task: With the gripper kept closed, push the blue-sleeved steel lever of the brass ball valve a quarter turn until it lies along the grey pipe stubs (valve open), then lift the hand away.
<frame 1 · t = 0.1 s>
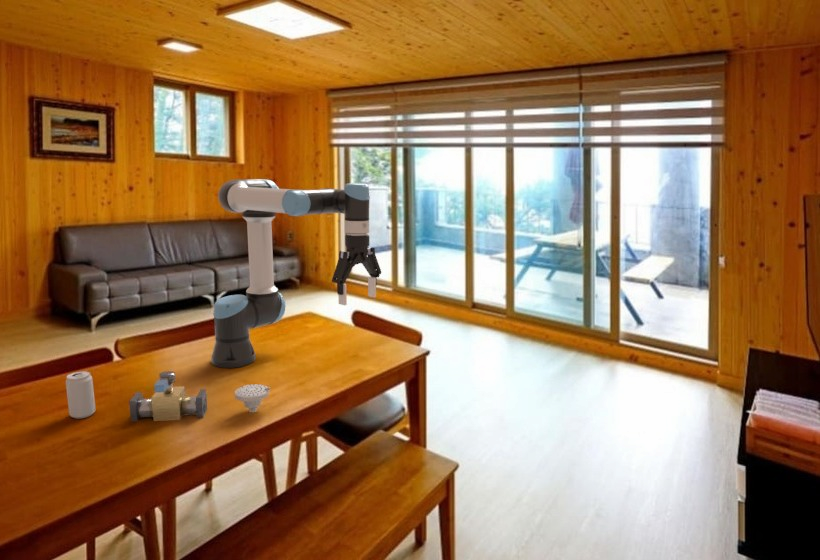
hand: (357, 300, 175), 28 cm above the table, fingers open, 13 cm apart
beverage can: (83, 415, 156), on the table
showerhead: (253, 411, 159), on the table
pipe in: (194, 413, 157), on the table
lever: (164, 381, 151), point 11 cm above the table, hinge at 90.0°
pipe out: (145, 416, 155), on the table
valve: (170, 414, 156), on the table
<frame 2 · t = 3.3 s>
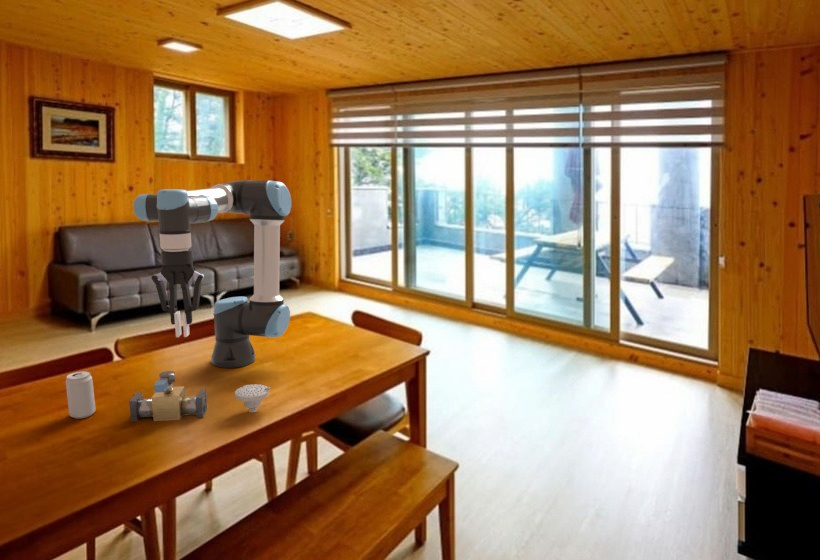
hand: (182, 335, 149), 24 cm above the table, fingers closed
nothing on the table moved.
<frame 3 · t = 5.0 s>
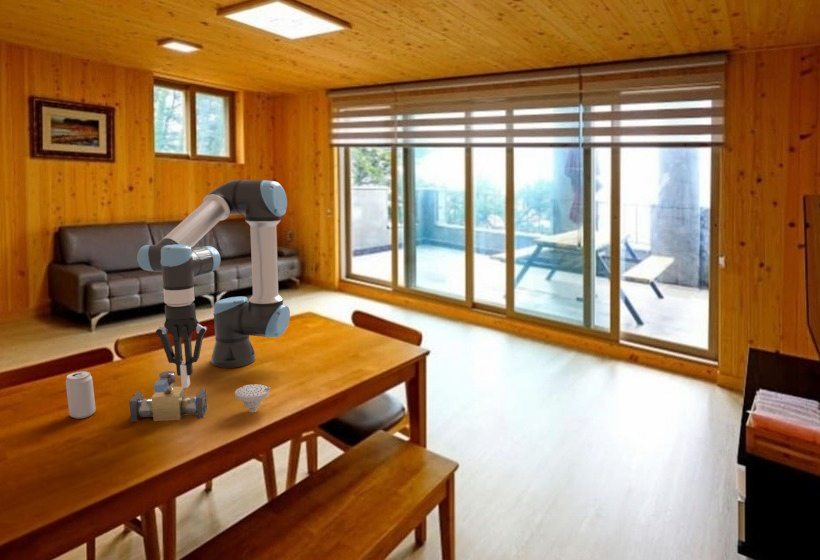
hand: (185, 386, 151), 10 cm above the table, fingers closed
nothing on the table moved.
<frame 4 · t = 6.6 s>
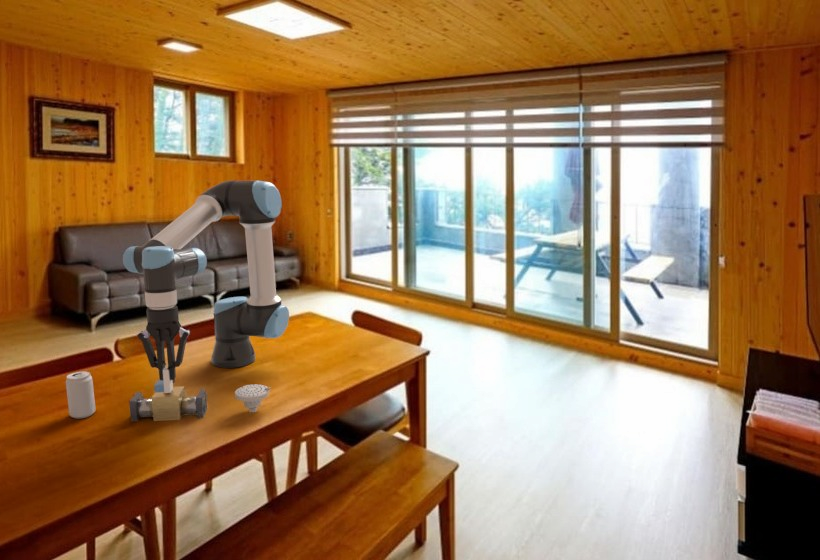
hand: (168, 390, 148), 10 cm above the table, fingers closed
lever: (164, 381, 151), point 11 cm above the table, hinge at 90.0°, touching gripper
everything else where it was.
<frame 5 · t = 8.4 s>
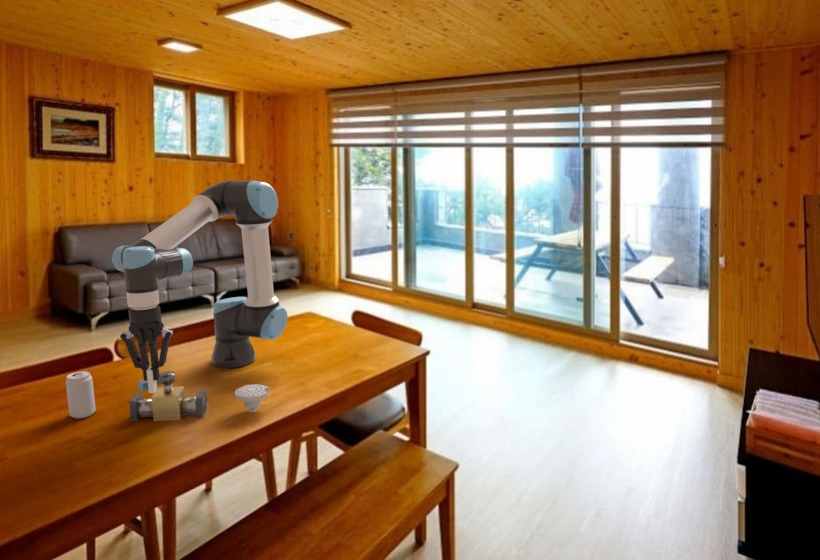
hand: (153, 391, 148), 10 cm above the table, fingers closed
lever: (157, 380, 152), point 11 cm above the table, hinge at 46.3°, touching gripper
everything else where it was.
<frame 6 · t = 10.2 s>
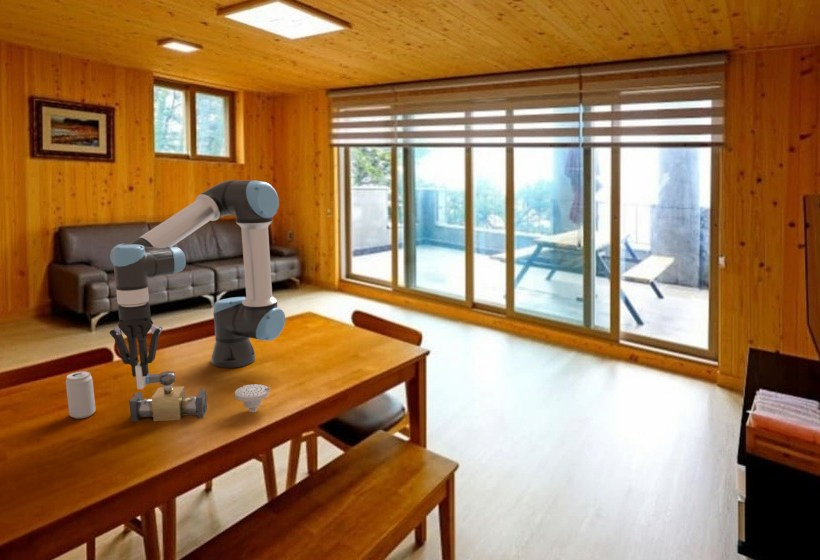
hand: (141, 387, 150), 10 cm above the table, fingers closed
lever: (156, 378, 153), point 11 cm above the table, hinge at 2.7°, touching gripper
everything else where it was.
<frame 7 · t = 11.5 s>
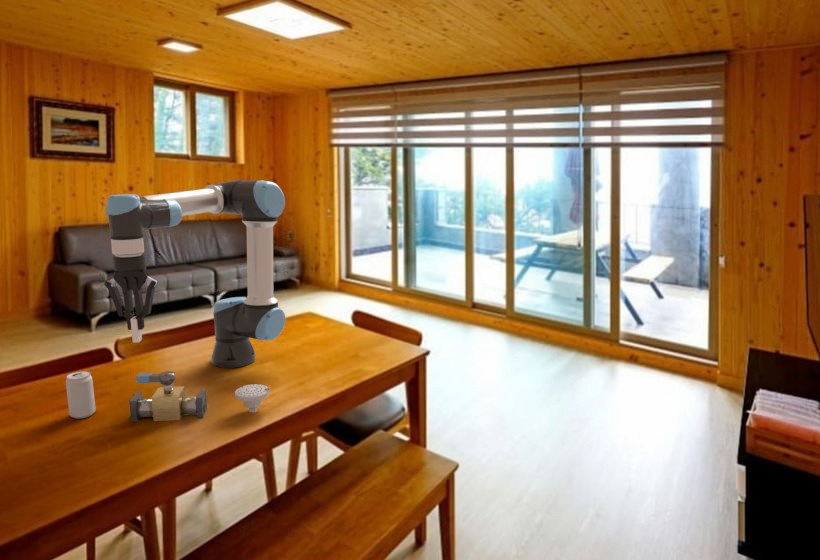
hand: (137, 340, 148), 23 cm above the table, fingers closed
lever: (156, 378, 154), point 11 cm above the table, hinge at -3.3°
everything else where it was.
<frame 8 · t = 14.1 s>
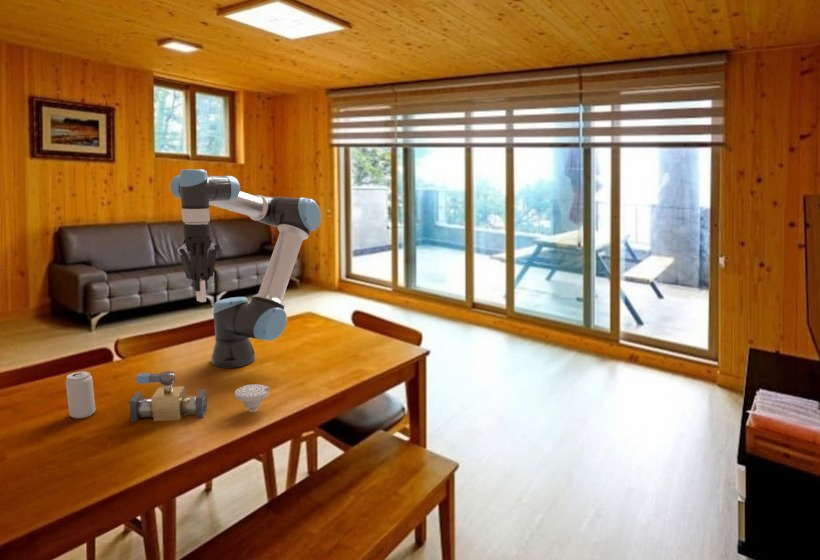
hand: (201, 301, 166), 29 cm above the table, fingers closed
nothing on the table moved.
at the end: lever at -3° (first picture: +90°); the gripper is holding nothing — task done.
